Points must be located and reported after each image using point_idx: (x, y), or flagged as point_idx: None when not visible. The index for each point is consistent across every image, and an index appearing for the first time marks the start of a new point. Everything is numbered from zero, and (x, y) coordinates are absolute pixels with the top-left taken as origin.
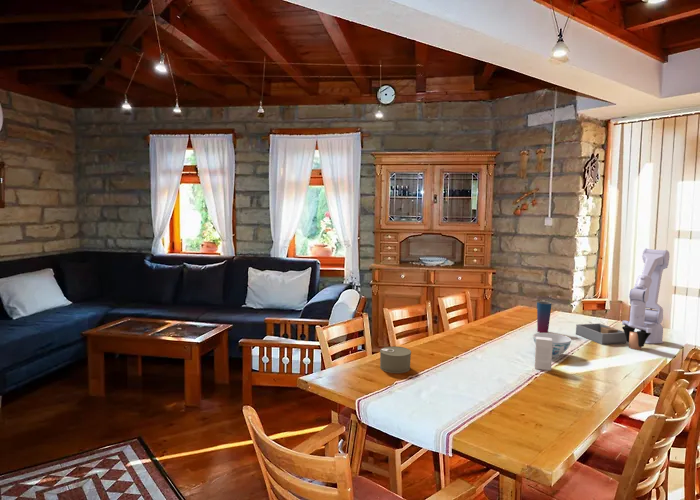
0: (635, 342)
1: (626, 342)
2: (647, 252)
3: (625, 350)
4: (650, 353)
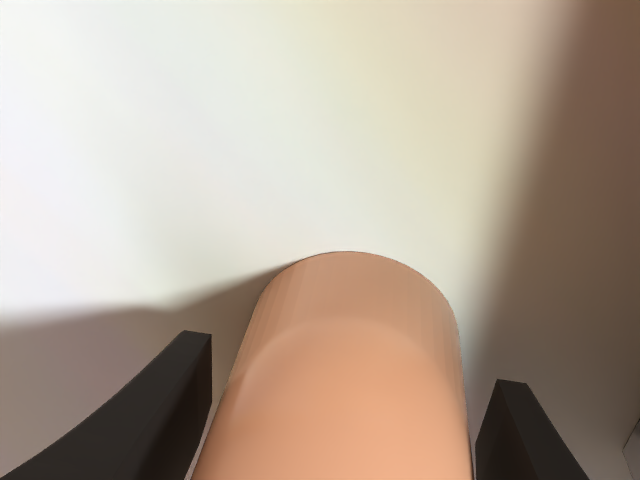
0: (250, 365)
1: (626, 459)
2: None
3: (273, 15)
4: (41, 304)
